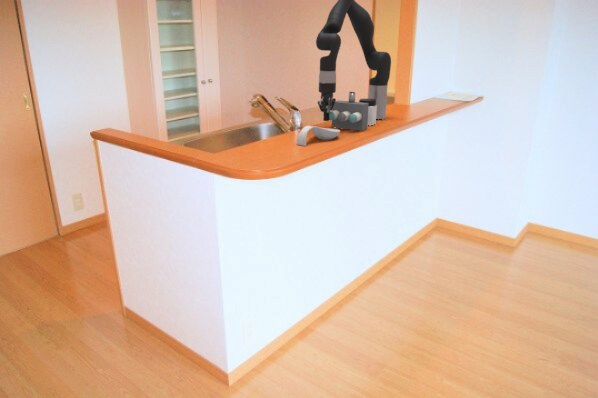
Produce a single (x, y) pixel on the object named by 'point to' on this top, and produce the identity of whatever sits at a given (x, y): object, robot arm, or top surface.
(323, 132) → the spoon rest
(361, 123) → the panel
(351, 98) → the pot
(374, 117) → the jar
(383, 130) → the top surface
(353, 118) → the knob right
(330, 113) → the knob left
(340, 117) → the knob mid
